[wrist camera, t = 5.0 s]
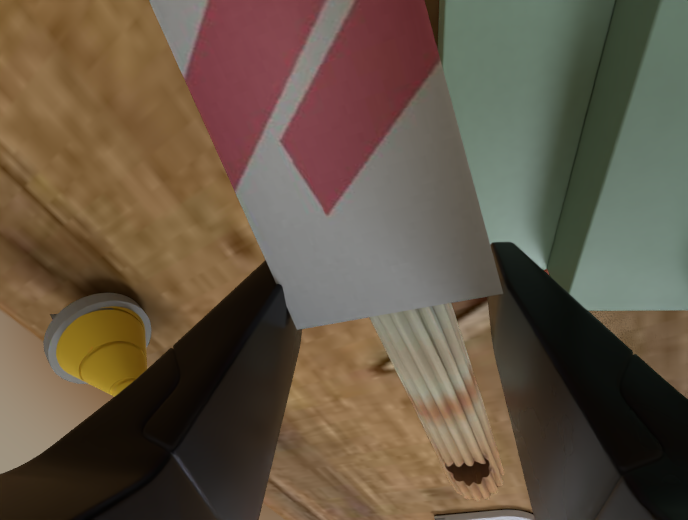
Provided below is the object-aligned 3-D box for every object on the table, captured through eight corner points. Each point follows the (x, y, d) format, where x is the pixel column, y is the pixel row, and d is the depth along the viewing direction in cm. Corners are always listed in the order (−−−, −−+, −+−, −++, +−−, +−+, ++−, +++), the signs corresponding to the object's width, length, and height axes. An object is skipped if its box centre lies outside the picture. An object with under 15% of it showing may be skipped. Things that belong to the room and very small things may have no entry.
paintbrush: (181, -1546, 2) (542, 515, 14) (295, -781, 4) (523, 430, 16) (-379, -695, 3) (418, 520, 15) (-49, -468, 5) (415, 440, 17)
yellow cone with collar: (60, 259, 26) (125, 353, 20) (143, 285, 30) (218, 370, 24) (11, 339, 26) (61, 459, 20) (101, 354, 30) (165, 458, 24)
